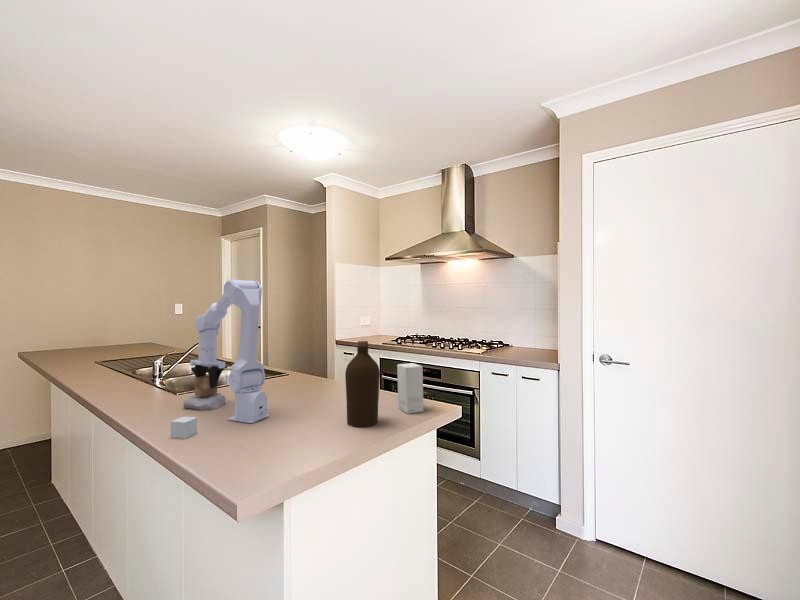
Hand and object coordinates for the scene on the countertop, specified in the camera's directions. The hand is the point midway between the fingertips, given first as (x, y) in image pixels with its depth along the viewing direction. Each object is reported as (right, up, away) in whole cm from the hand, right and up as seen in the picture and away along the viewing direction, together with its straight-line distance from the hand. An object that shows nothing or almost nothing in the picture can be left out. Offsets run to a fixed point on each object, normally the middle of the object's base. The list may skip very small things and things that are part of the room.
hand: (207, 386), depth 137 cm
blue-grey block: (+9, -7, -30) cm, 32 cm away
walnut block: (0, -2, -1) cm, 2 cm away
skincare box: (+72, -7, -5) cm, 73 cm away
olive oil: (+57, -7, -19) cm, 60 cm away
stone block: (0, -7, -2) cm, 7 cm away
